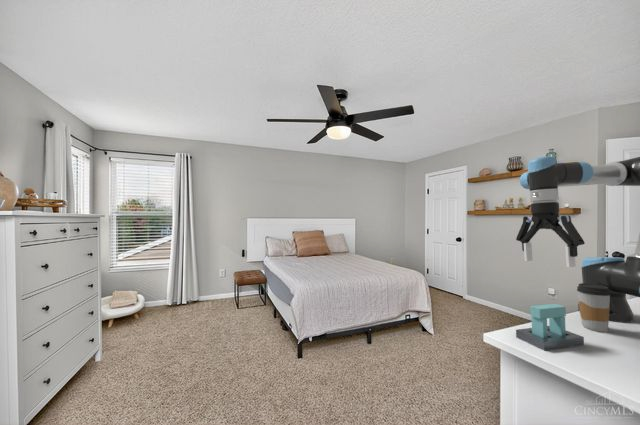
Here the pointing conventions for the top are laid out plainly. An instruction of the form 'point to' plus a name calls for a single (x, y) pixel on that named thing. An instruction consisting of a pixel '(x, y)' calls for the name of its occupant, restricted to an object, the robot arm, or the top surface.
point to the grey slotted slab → (550, 339)
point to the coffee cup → (594, 306)
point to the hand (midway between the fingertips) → (548, 263)
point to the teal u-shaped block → (555, 319)
